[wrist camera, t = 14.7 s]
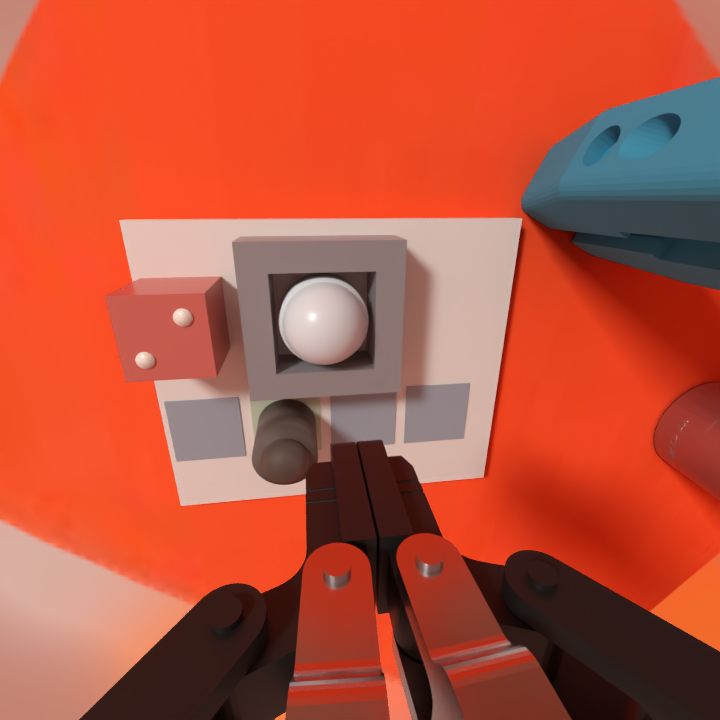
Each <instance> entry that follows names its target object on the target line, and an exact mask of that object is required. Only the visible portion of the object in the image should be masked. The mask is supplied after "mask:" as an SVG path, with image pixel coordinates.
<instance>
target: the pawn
mask: <svg viewBox="0 0 720 720" xmlns="http://www.w3.org/2000/svg"><path fill="white" fill-rule="evenodd" d="M317 462H318V448H317V433H316V420H315V416H314V414H313V412H312V410H311V409H310V408H309V407H308V406H307V405H305V404H304V403H302V402H300V401H297V400H293V399H282V400H278V401H275V402H273V403H271V404H269V405H268V406H267V407H265V409H264V410H263V411H262V412H261V414H260V416H259V420H258V425H257V431H256V436H255V441H254V447H253V452H252V465H253V467H254V469H255V471H256V473H257V474H258V475H259V476H260V477H261V478H263V479H264V480H266V481H268V482H270V483H273V484H278V485H290V484H295V483H298V482H300V481H302V480H304V479H306V474H307V472H308V471H309V469H310V467H311V465H312V464H313V463H317Z"/></svg>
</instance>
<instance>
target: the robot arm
mask: <svg viewBox="0 0 720 720" xmlns="http://www.w3.org/2000/svg"><path fill="white" fill-rule="evenodd" d="M654 446H655V449H656V452H657V454H658V455H659V457H660V458H662V459H663V460H664V461H666V462H667V463H668V464H670V465H671V466H673V467H674V468H675V469H677V470H678V471H679V472H681V473H682V474H684V475H685V476H686V477H688V478H689V479H690V480H692V481H693V482H695V483H696V484H697V485H698V486H700V487H701V488H703V489H704V490H705V491H707V492H708V493H709V494H711V495H712V496H714V497H715V498H716V499H718V500H719V501H720V382H714V383H707V384H703V385H700V386H698V387H696V388H693V389H691V390H689V391H688V392H686V393H685V394H683V395H682V396H680V397H679V398H678V399H677V400H676V401H674V402H673V403H672V404H671V406H670V407H669V408H668V409H667V410H666V411H665V413H664V414H663V416H662V417H661V419H660V421H659V423H658V425H657V428H656V431H655V435H654ZM330 460H331V461H330V462H318V463H313V464H312V465H311V467H310V469H309V471H308V472H307V474H306V532H307V553H306V558H305V561H304V563H303V565H302V567H301V568H300V570H299V571H298V572H297V573H296V574H295V575H294V576H293V577H292V578H291V579H290V580H288V581H287V582H285V583H284V584H282V585H280V586H278V587H275V588H273V589H271V590H268V591H266V592H264V593H262V594H261V593H260V592H259V591H258V590H257V589H256V588H254V587H252V586H250V585H246V584H239V583H237V584H229V585H225V586H222V587H219V588H217V589H215V590H213V591H212V592H210V593H209V594H207V595H206V596H205V597H204V598H203V599H201V600H200V601H199V602H198V603H197V604H196V605H195V606H194V607H193V608H192V609H191V610H190V611H189V612H188V613H187V614H186V615H185V616H184V617H183V618H182V619H181V620H180V621H179V622H178V623H177V624H176V625H175V626H174V627H173V628H172V629H171V630H170V631H169V632H168V633H167V634H166V635H165V636H164V637H163V638H162V639H161V640H160V641H159V642H158V643H157V644H156V645H155V646H154V647H153V648H152V649H151V650H150V651H149V652H148V653H146V654H145V655H144V656H143V657H142V658H141V659H140V661H138V662H137V663H136V664H135V665H134V666H133V667H132V668H131V669H130V670H129V671H128V672H127V673H126V674H125V675H124V676H123V677H122V678H121V679H120V680H119V681H118V682H117V683H116V684H115V685H114V686H113V687H112V688H111V689H110V690H109V691H108V692H107V693H106V694H105V695H104V696H103V697H102V698H101V699H100V700H99V701H98V702H97V703H96V704H95V705H94V706H93V707H92V708H91V709H90V710H89V711H88V712H87V713H86V714H85V715H84V716H82V718H80V719H79V720H275V718H276V717H278V716H280V715H281V714H283V713H285V712H286V719H285V720H390V717H389V708H388V699H387V690H386V683H385V677H384V673H383V672H382V670H381V663H380V654H379V644H378V634H377V624H376V614H375V601H376V606H377V611H378V614H382V613H389V614H390V619H391V623H392V628H393V635H392V647H393V652H394V656H395V660H396V663H397V667H398V671H399V674H400V678H401V681H402V685H403V689H404V692H405V696H406V699H407V703H408V707H409V710H410V714H411V717H412V720H720V652H719V651H718V650H716V649H714V648H712V647H711V646H709V645H707V644H705V643H703V642H702V641H700V640H698V639H696V638H695V637H693V636H691V635H690V634H688V633H686V632H684V631H682V630H681V629H679V628H677V627H675V626H674V625H672V624H670V623H668V622H667V621H665V620H663V619H661V618H659V617H658V616H656V615H654V614H652V613H651V612H649V611H647V610H645V609H644V608H642V607H640V606H638V605H637V604H635V603H633V602H631V601H630V600H628V599H626V598H624V597H622V596H621V595H619V594H617V593H615V592H614V591H612V590H610V589H608V588H607V587H605V586H603V585H601V584H600V583H598V582H596V581H594V580H592V579H591V578H589V577H587V576H585V575H584V574H582V573H580V572H578V571H577V570H575V569H573V568H571V567H570V566H568V565H566V564H564V563H562V562H561V561H559V560H557V559H555V558H554V557H552V556H550V555H547V554H545V553H542V552H538V551H532V550H523V551H518V552H516V553H514V554H512V555H511V556H510V557H509V558H508V559H507V561H506V564H505V566H503V565H497V564H491V563H486V562H480V561H476V560H472V559H469V558H467V557H465V556H463V555H461V554H460V552H459V551H458V549H457V548H456V547H455V546H454V545H453V544H452V543H451V542H450V541H448V540H446V539H445V538H443V536H442V534H441V532H440V530H439V527H438V525H437V522H436V520H435V518H434V515H433V513H432V510H431V508H430V506H429V503H428V501H427V498H426V496H425V494H424V493H423V489H422V486H421V484H420V482H419V480H418V477H417V475H416V472H415V470H414V467H413V466H412V465H411V464H410V463H409V462H408V461H407V460H406V459H405V458H403V457H402V456H389V457H388V456H387V453H386V450H385V447H384V444H383V441H382V440H369V441H357V443H355V442H344V443H332V444H330Z"/></svg>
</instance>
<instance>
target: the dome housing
mask: <svg viewBox="0 0 720 720" xmlns="http://www.w3.org/2000/svg"><path fill="white" fill-rule="evenodd" d="M232 248H233V257H234V265H235V274H236V283H237V291H238V300H239V308H240V317H241V325H242V334H243V343H244V351H245V360H246V368H247V377H248V386H249V394H250V401H263V400H279V399H294V398H310V397H326V396H342V395H358V394H374V393H390V392H400V385H401V363H402V341H403V319H404V297H405V276H406V254H407V240H406V239H404V238H401V237H398V236H396V235H327V236H240V237H239V238H237V239H236V240H234V241H232ZM329 272H367V312H368V320H369V323H368V330H367V350H366V351H356V352H355V353H353V354H352V355H351V356H350V357H348V358H347V359H345V360H343V361H341V362H338V363H335V364H330V365H319V364H313V363H310V362H307V361H304V360H302V359H301V358H299V357H297V356H296V355H295V354H283V355H279V350H278V337H277V325H276V313H275V300H274V288H273V276H272V274H284V273H329Z"/></svg>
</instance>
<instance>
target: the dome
mask: <svg viewBox="0 0 720 720" xmlns="http://www.w3.org/2000/svg"><path fill="white" fill-rule="evenodd" d="M368 323H369V320H368V312H367V309H366V306H365V304H364V302H363V300H362V298H361V296H360V295H359V293H358V292H357V290H356V289H355V288H354V287H353V285H352V284H350V283H349V282H348V281H347V280H345V279H344V278H342V277H340V276H337V275H334V274H330V273H315V274H310V275H308V276H305V277H303V278H301V279H299V280H298V281H296V282H295V283H294V284H293V285H292V286H291V287H290V288H289V289H288V291H287V292H286V294H285V296H284V298H283V301H282V304H281V309H280V316H279V328H280V333H281V336H282V339H283V341H284V343H285V344H286V346H287V347H288V348H289V350H290V351H291V352H292V353H293V354H295V355H296V356H297V357H299V358H301V359H302V360H304V361H307V362H310V363H313V364H319V365H330V364H335V363H338V362H341V361H343V360H345V359H347V358H348V357H350V356H351V355H352V354H353V353H355V352H356V351H357V350H358V348H359V347H360V346H361V344H362V343H363V341H364V339H365V337H366V334H367V330H368Z"/></svg>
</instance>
